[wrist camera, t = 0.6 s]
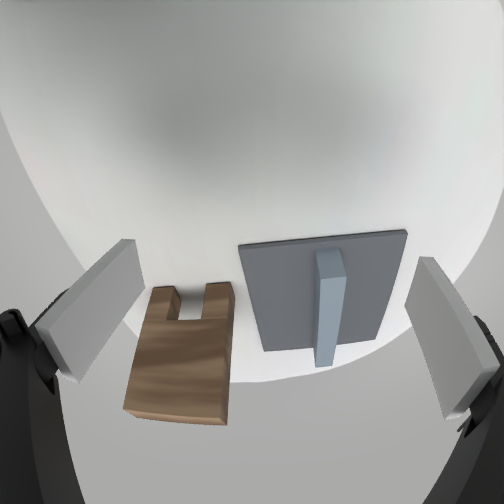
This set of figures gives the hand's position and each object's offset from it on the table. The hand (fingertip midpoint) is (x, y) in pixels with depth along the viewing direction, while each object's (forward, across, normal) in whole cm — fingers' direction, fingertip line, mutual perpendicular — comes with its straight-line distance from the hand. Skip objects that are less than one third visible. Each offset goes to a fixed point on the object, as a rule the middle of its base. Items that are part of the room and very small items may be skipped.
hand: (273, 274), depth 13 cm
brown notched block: (+17, -11, -14) cm, 25 cm away
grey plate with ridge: (+19, +5, -16) cm, 26 cm away
